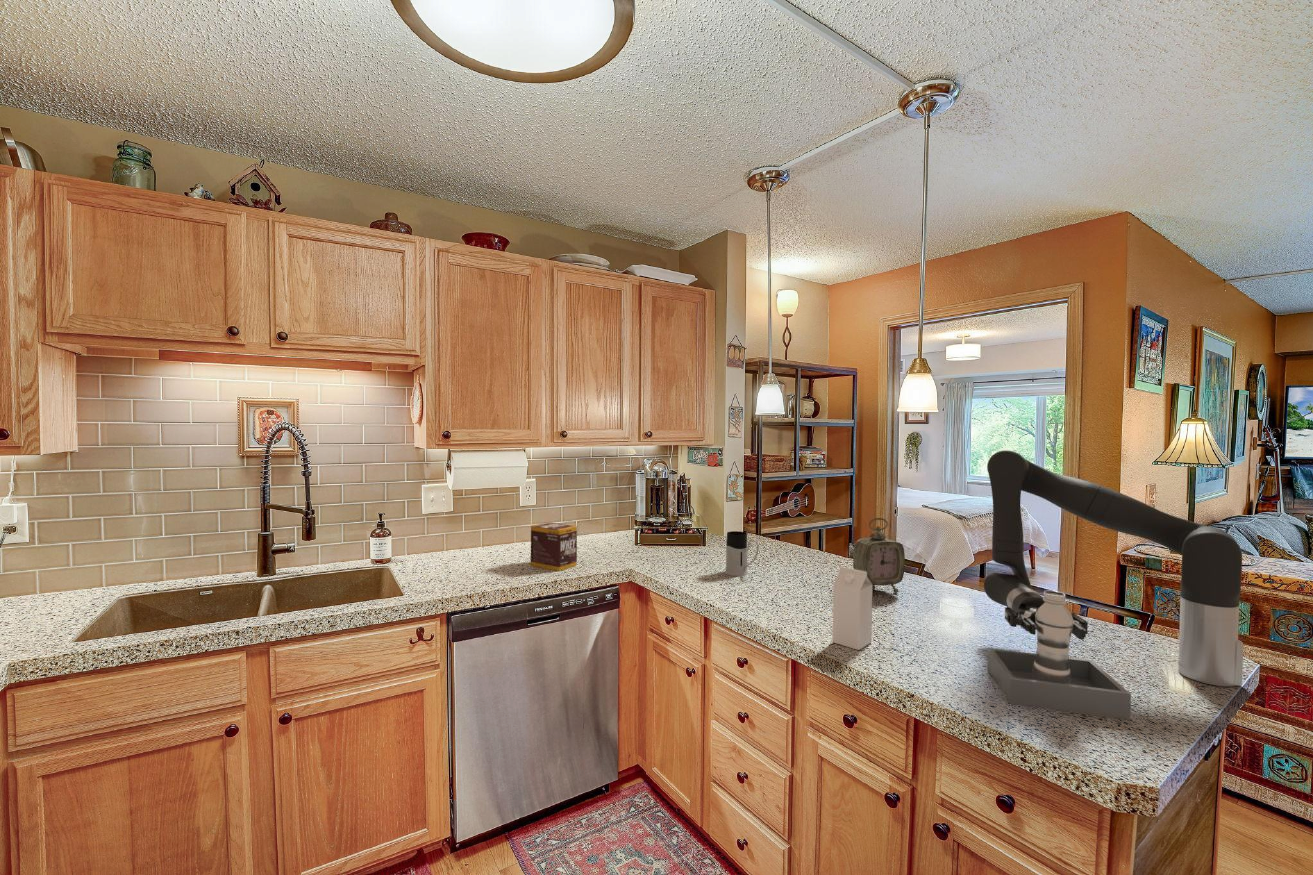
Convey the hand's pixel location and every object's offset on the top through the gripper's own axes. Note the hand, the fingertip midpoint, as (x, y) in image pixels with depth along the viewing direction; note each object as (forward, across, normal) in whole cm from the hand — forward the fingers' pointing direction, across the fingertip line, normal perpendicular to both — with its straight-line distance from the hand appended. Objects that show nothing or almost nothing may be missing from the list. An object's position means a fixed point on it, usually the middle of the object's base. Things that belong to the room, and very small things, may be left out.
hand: (1057, 632), depth 114 cm
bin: (-2, 0, +14) cm, 14 cm away
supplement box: (-62, -147, +14) cm, 160 cm away
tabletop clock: (-66, -29, +14) cm, 73 cm away
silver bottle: (-2, 0, +13) cm, 13 cm away
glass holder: (-73, -75, +14) cm, 105 cm away
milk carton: (-17, -39, +14) cm, 45 cm away
